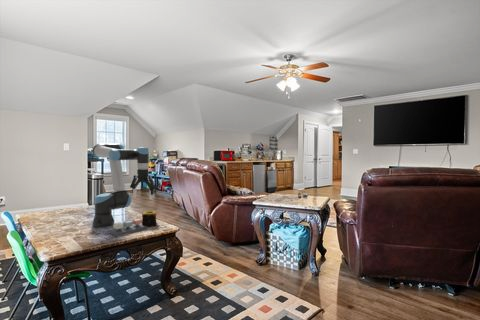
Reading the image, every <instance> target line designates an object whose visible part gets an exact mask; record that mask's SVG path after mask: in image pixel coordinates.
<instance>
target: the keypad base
mask: <svg viewBox="0 0 480 320" xmlns="http://www.w3.org/2000/svg"><path fill="white" fill-rule="evenodd" d="M147 229H148V227H147V226H144V225H142V224H139V226H138V227H136V225H135V224H133V226H130V228H129V229H127V227H126V226H123V228H120V231H117V229H115V228H112V229H108V233H109V234H111V235H112V236H116V237H120V236H124V235H128V234H133V233H136V232H140V231H145V230H147Z"/></svg>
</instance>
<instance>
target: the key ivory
mask: <svg viewBox="0 0 480 320" xmlns="http://www.w3.org/2000/svg"><path fill="white" fill-rule="evenodd" d="M123 227H124V226H123V222H116V223H115V222H114V224H113V229H117V231H120V228H123Z"/></svg>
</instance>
